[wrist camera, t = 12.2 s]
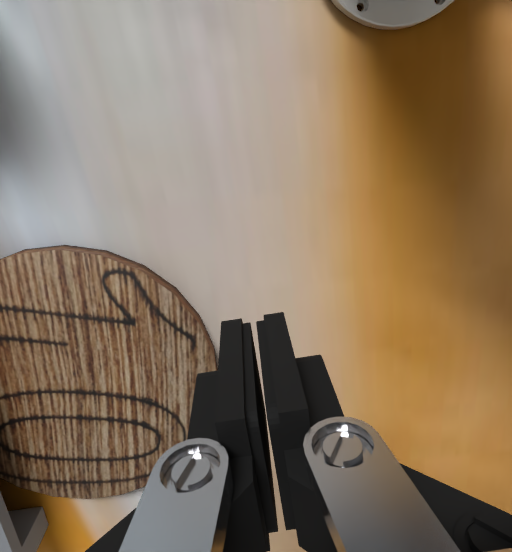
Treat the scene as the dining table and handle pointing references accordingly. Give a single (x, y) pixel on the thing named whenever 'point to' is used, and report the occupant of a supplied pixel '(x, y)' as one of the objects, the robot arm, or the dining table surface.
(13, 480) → the trivet
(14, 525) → the bridge
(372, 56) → the dining table surface
